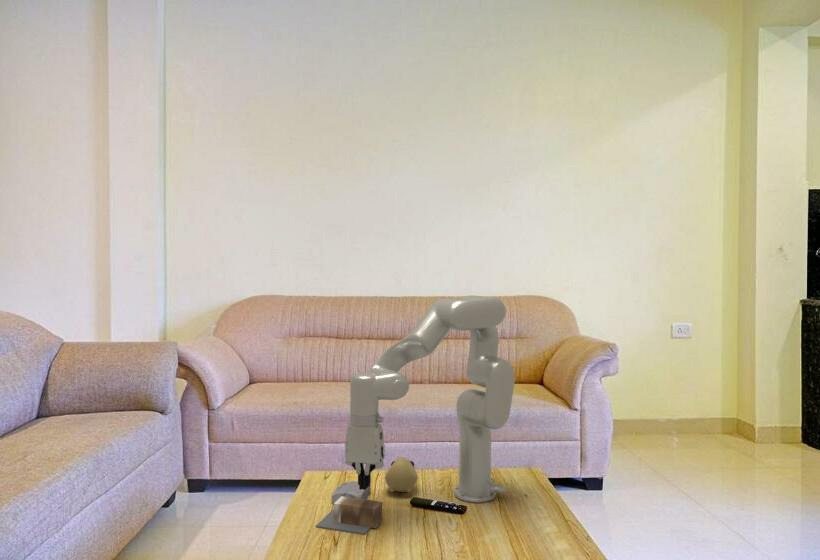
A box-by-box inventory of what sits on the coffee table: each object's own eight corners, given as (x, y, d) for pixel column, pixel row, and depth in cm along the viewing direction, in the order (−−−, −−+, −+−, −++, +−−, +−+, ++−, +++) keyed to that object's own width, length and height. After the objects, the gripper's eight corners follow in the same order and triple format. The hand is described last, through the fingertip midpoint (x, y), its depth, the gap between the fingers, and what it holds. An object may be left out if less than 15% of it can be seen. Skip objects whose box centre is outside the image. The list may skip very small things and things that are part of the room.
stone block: (330, 512, 165) (363, 507, 163) (327, 495, 165) (360, 491, 163) (342, 497, 176) (373, 493, 174) (339, 481, 176) (370, 477, 175)
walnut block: (382, 501, 154) (341, 496, 158) (375, 509, 149) (333, 503, 153) (382, 520, 154) (341, 514, 158) (375, 528, 149) (333, 521, 153)
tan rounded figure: (419, 484, 181) (419, 450, 180) (416, 499, 169) (416, 463, 168) (388, 482, 182) (388, 449, 181) (383, 498, 170) (383, 462, 169)
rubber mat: (381, 515, 158) (381, 513, 158) (365, 534, 146) (365, 533, 146) (335, 508, 162) (335, 507, 162) (315, 527, 151) (315, 525, 151)
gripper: (395, 418, 154) (395, 486, 154) (344, 414, 158) (344, 479, 158) (386, 425, 146) (385, 496, 147) (332, 421, 151) (332, 489, 151)
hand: (364, 487), depth 153 cm, fingers closed
